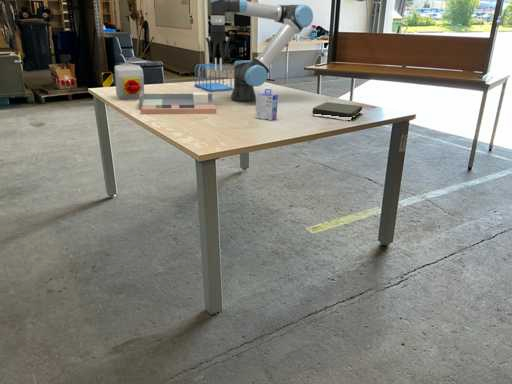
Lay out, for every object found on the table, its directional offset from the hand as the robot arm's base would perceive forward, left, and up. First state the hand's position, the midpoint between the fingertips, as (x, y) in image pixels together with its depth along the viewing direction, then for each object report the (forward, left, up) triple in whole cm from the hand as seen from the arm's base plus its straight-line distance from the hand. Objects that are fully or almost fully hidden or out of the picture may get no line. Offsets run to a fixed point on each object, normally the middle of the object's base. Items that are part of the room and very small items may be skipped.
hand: (218, 70), depth 237 cm
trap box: (+22, +6, -19) cm, 30 cm away
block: (+10, 0, -17) cm, 20 cm away
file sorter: (-2, -60, -20) cm, 63 cm away
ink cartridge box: (-21, +33, -20) cm, 44 cm away
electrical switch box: (+49, -22, -20) cm, 58 cm away
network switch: (-61, +27, -20) cm, 70 cm away
